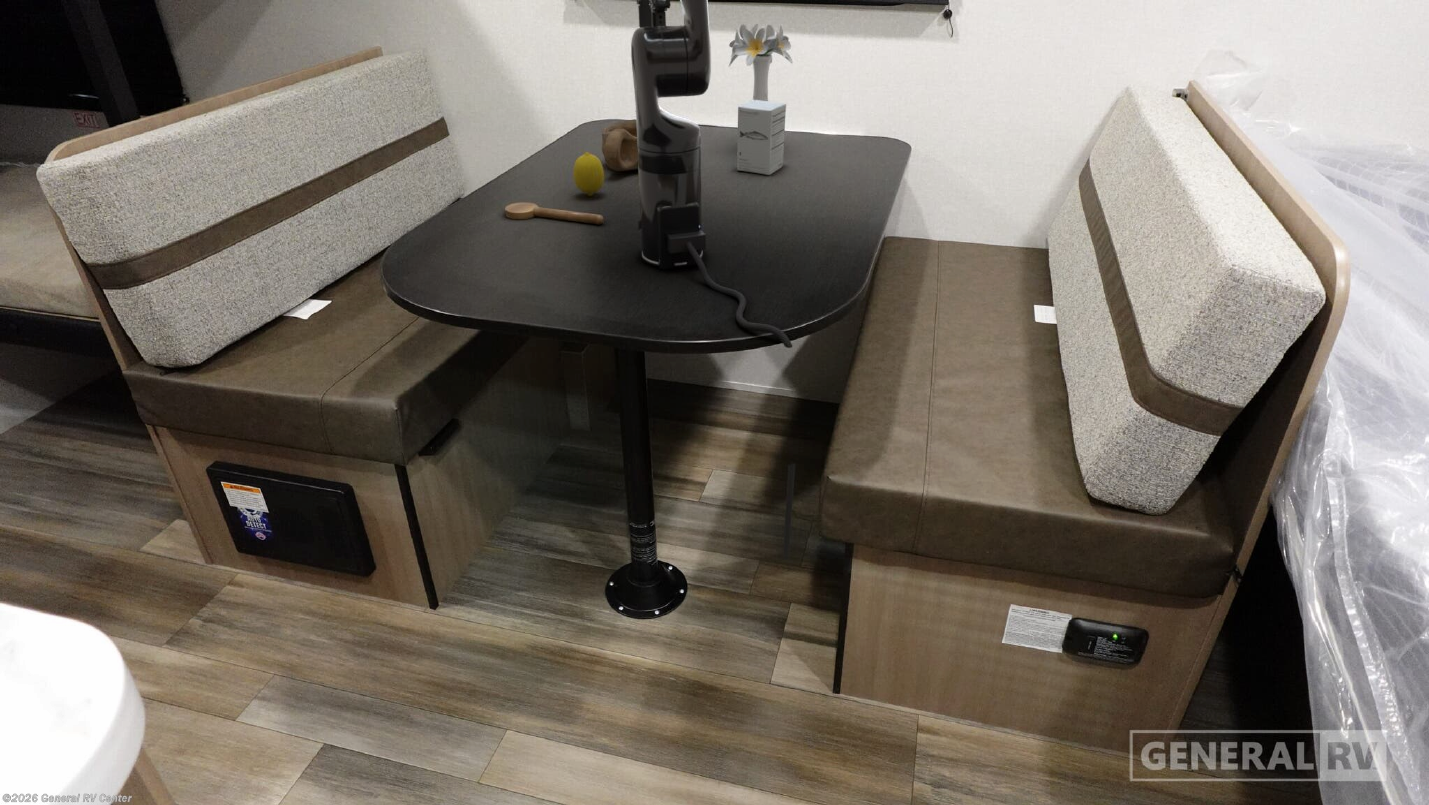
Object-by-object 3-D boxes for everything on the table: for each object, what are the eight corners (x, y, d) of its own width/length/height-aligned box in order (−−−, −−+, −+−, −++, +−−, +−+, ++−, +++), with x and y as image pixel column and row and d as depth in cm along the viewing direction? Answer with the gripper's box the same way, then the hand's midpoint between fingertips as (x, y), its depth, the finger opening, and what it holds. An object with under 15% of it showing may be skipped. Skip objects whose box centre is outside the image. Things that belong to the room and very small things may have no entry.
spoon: (610, 219, 151) (610, 210, 151) (595, 230, 147) (595, 220, 146) (516, 207, 157) (515, 198, 156) (499, 217, 153) (498, 208, 152)
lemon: (578, 201, 160) (575, 157, 155) (572, 192, 164) (568, 149, 160) (608, 198, 161) (605, 154, 157) (601, 189, 166) (598, 147, 161)
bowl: (666, 175, 168) (650, 123, 164) (599, 192, 172) (581, 142, 167) (681, 149, 183) (667, 101, 179) (619, 165, 187) (603, 119, 182)
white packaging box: (735, 171, 176) (736, 105, 169) (751, 161, 181) (752, 98, 175) (769, 176, 173) (771, 109, 166) (784, 166, 178) (787, 102, 172)
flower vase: (778, 135, 199) (782, 16, 186) (795, 158, 183) (800, 29, 171) (721, 137, 198) (721, 17, 185) (733, 160, 182) (734, 30, 169)
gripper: (615, -79, 144) (620, 27, 153) (636, -75, 133) (641, 40, 141) (659, -80, 146) (662, 25, 155) (684, -76, 135) (686, 37, 143)
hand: (652, 32), depth 148 cm, fingers open, 8 cm apart
